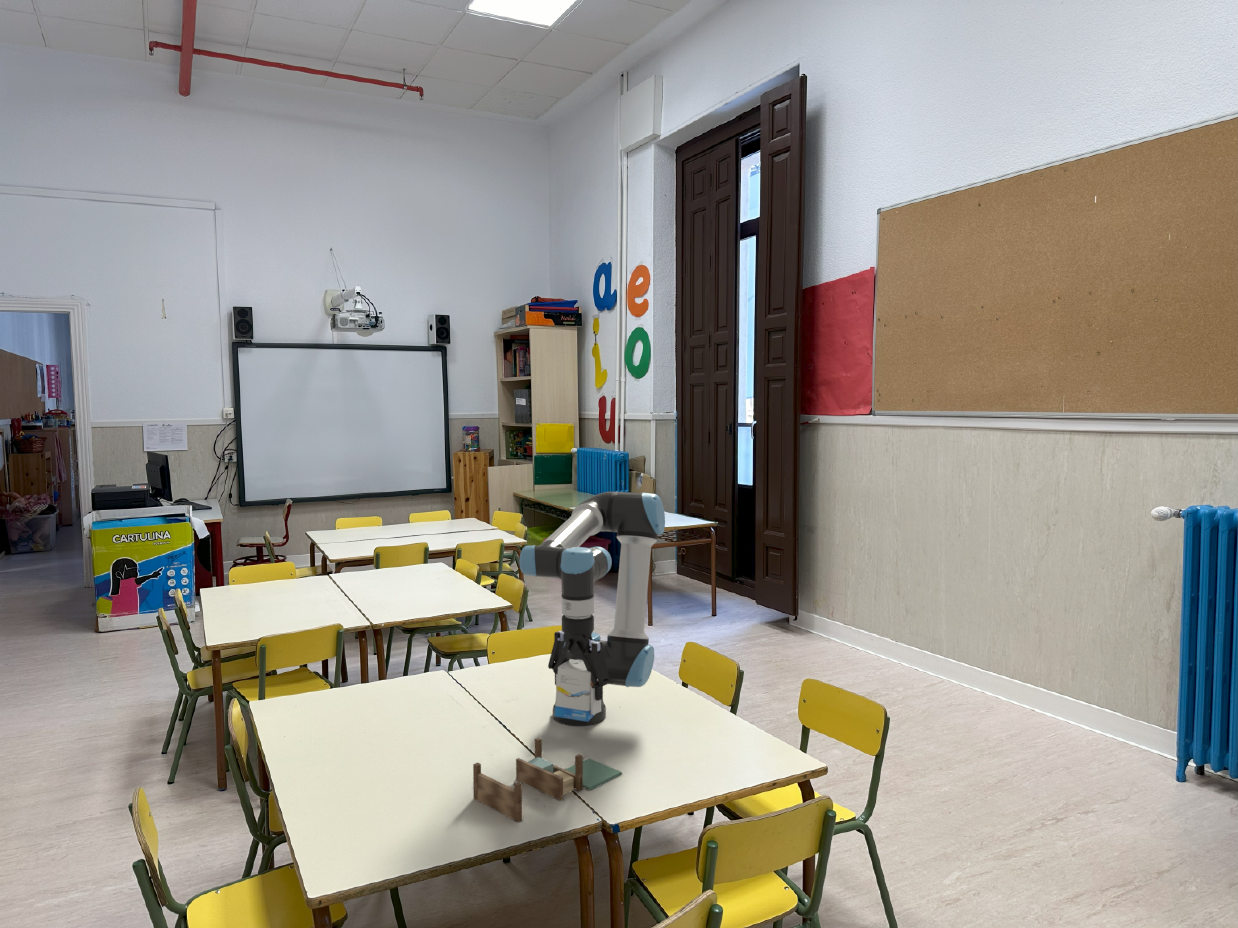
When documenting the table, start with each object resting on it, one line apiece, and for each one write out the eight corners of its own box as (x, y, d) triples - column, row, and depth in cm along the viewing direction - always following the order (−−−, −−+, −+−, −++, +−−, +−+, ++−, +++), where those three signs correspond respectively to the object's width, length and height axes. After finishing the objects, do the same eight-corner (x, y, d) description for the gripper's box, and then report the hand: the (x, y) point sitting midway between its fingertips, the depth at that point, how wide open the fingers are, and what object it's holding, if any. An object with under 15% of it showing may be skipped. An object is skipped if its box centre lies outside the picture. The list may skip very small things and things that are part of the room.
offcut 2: (544, 789, 185) (544, 776, 185) (559, 783, 188) (559, 770, 188) (558, 797, 181) (558, 783, 181) (573, 790, 184) (573, 777, 184)
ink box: (588, 722, 184) (591, 671, 183) (553, 716, 186) (556, 666, 186) (599, 710, 192) (602, 662, 191) (566, 705, 194) (569, 657, 194)
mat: (556, 775, 191) (556, 772, 191) (588, 760, 200) (588, 757, 200) (589, 790, 184) (589, 787, 184) (621, 773, 192) (621, 771, 192)
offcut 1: (524, 772, 188) (524, 762, 188) (537, 766, 192) (537, 756, 191) (540, 779, 185) (540, 769, 185) (553, 773, 188) (553, 763, 188)
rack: (473, 798, 180) (473, 764, 179) (538, 769, 195) (538, 737, 194) (517, 821, 170) (517, 785, 169) (582, 789, 185) (582, 755, 184)
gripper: (532, 608, 192) (533, 697, 194) (602, 628, 176) (602, 724, 178) (555, 602, 198) (556, 689, 200) (625, 620, 182) (625, 714, 184)
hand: (578, 705), depth 189 cm, fingers closed on ink box, 11 cm apart
